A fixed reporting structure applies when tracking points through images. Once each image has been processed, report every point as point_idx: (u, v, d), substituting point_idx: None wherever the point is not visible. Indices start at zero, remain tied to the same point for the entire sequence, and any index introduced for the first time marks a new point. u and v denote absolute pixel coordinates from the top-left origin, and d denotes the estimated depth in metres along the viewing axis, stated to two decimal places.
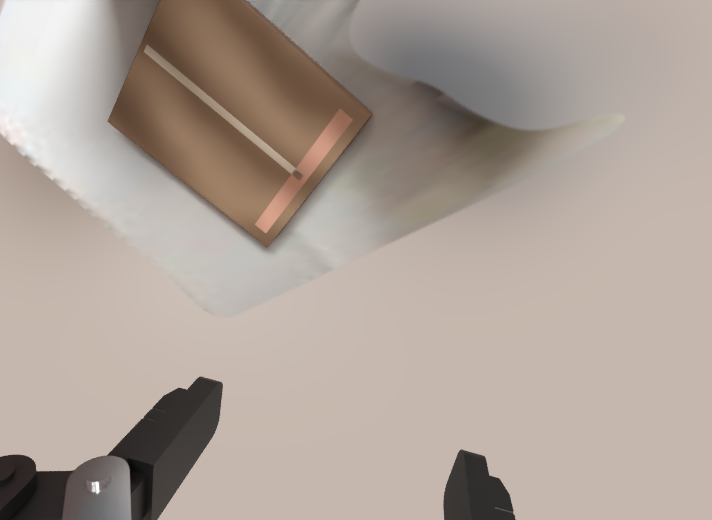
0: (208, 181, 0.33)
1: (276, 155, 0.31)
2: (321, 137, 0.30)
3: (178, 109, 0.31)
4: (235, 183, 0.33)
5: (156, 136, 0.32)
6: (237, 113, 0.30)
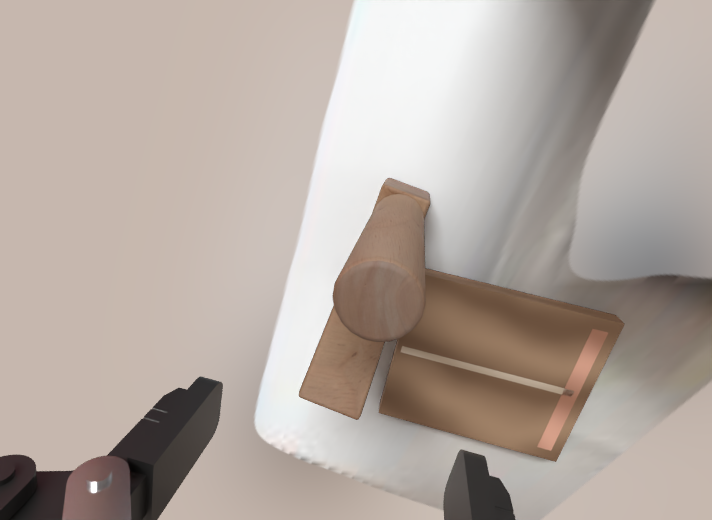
0: (482, 427, 0.36)
1: (541, 384, 0.33)
2: (581, 356, 0.32)
3: (440, 382, 0.35)
4: (508, 419, 0.35)
5: (424, 408, 0.36)
6: (495, 366, 0.34)
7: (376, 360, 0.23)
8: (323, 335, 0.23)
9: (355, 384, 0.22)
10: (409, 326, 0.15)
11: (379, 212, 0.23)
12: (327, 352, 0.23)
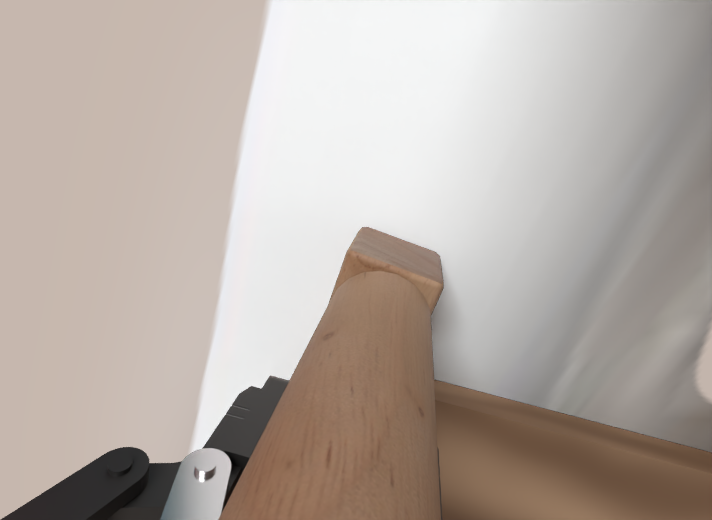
0: None
1: None
2: None
3: None
4: None
5: None
6: None
7: None
8: None
9: None
10: None
11: (319, 358, 0.09)
12: None
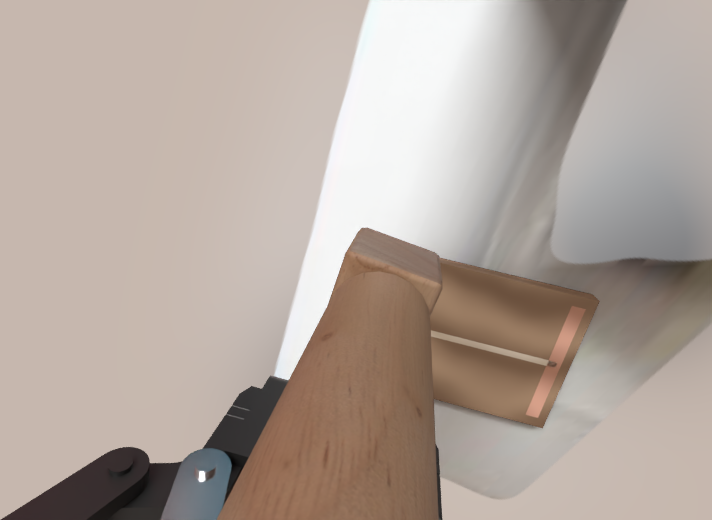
0: (476, 397, 0.40)
1: (528, 357, 0.38)
2: (563, 331, 0.36)
3: (438, 356, 0.39)
4: (499, 390, 0.39)
5: None
6: (487, 340, 0.38)
7: None
8: None
9: None
10: None
11: (317, 358, 0.09)
12: None
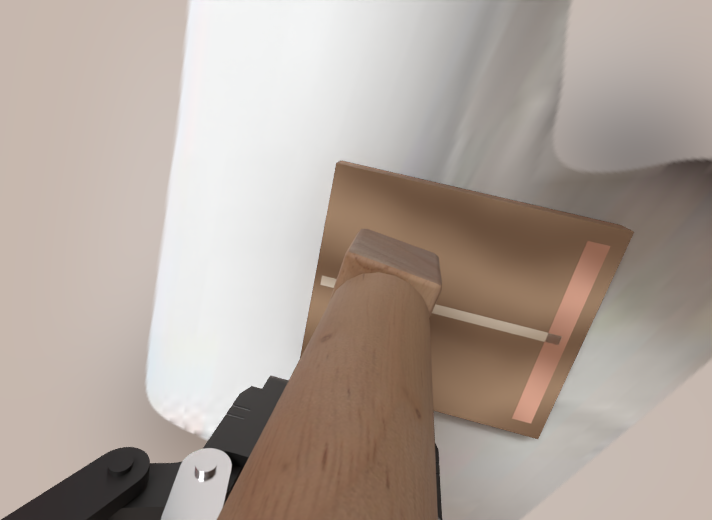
0: (436, 391, 0.26)
1: (516, 328, 0.24)
2: (572, 284, 0.22)
3: None
4: (471, 380, 0.25)
5: None
6: (451, 302, 0.24)
7: None
8: None
9: None
10: None
11: (316, 360, 0.09)
12: None
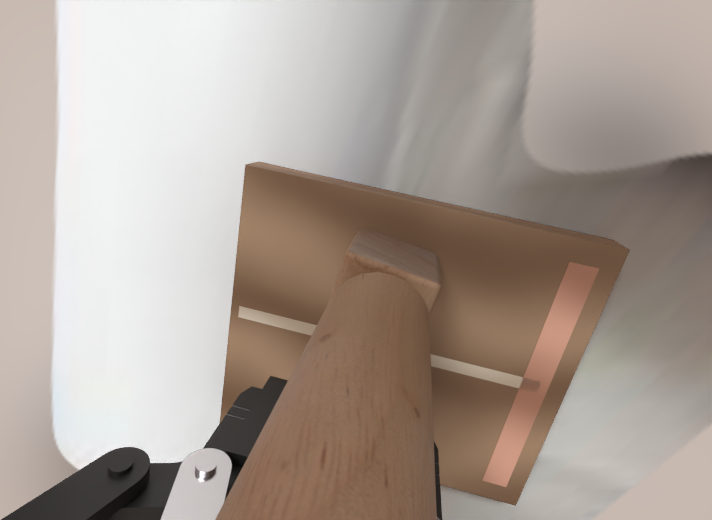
0: None
1: (482, 371, 0.19)
2: (551, 316, 0.17)
3: None
4: None
5: None
6: None
7: None
8: None
9: None
10: None
11: (315, 359, 0.09)
12: None
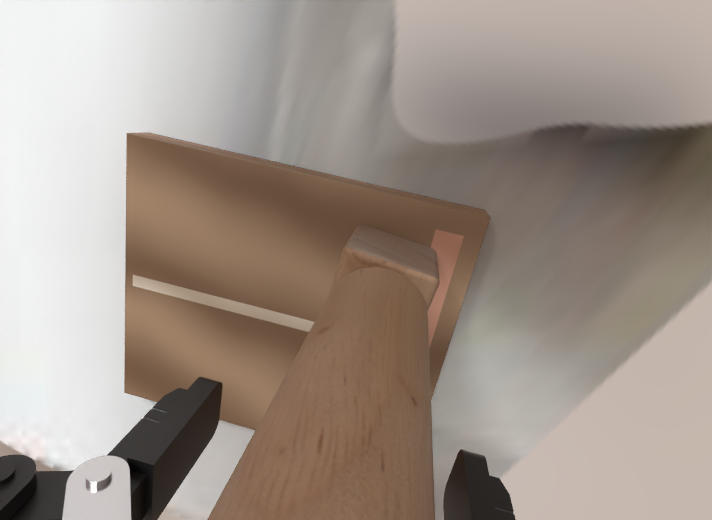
0: None
1: None
2: None
3: (205, 337, 0.21)
4: None
5: None
6: (285, 306, 0.19)
7: None
8: None
9: None
10: None
11: (313, 351, 0.09)
12: None
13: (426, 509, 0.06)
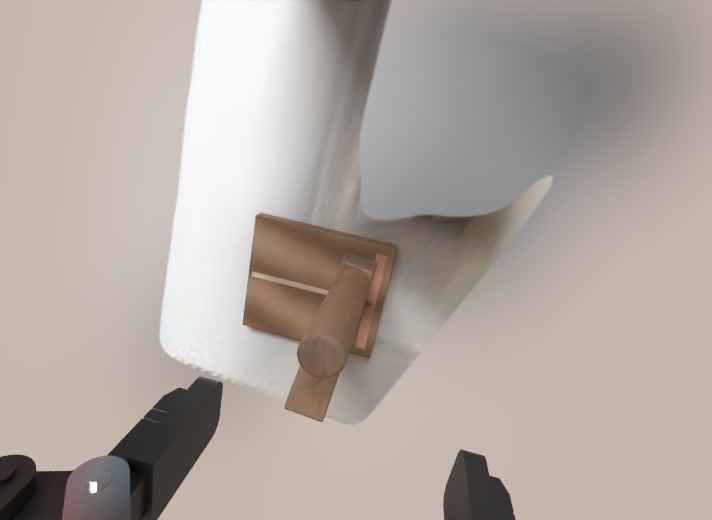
0: None
1: None
2: (373, 275, 0.45)
3: (282, 298, 0.48)
4: None
5: (274, 320, 0.49)
6: (317, 284, 0.47)
7: (334, 383, 0.36)
8: (300, 368, 0.37)
9: (320, 399, 0.36)
10: (338, 370, 0.29)
11: (333, 289, 0.36)
12: (302, 379, 0.36)
13: (355, 313, 0.34)
